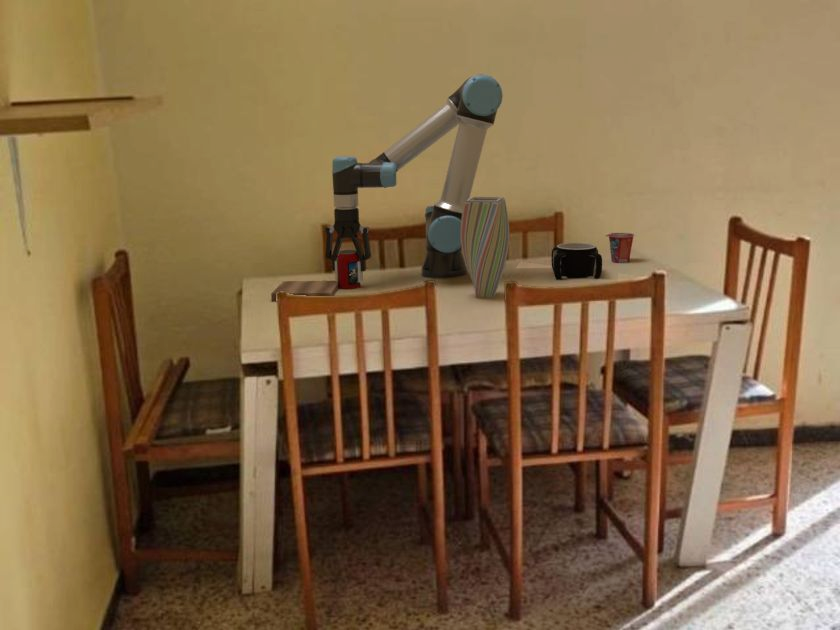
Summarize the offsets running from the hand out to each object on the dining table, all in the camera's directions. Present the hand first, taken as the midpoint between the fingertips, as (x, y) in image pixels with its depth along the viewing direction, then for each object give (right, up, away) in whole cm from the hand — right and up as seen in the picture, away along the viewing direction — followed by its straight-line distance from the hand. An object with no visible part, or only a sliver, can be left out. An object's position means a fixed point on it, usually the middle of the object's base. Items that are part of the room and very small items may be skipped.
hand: (349, 281), depth 280 cm
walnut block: (-13, -5, -5) cm, 14 cm away
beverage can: (0, -3, +1) cm, 3 cm away
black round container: (+71, -1, +1) cm, 71 cm away
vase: (+41, -7, -22) cm, 47 cm away
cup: (+89, +4, +20) cm, 91 cm away
